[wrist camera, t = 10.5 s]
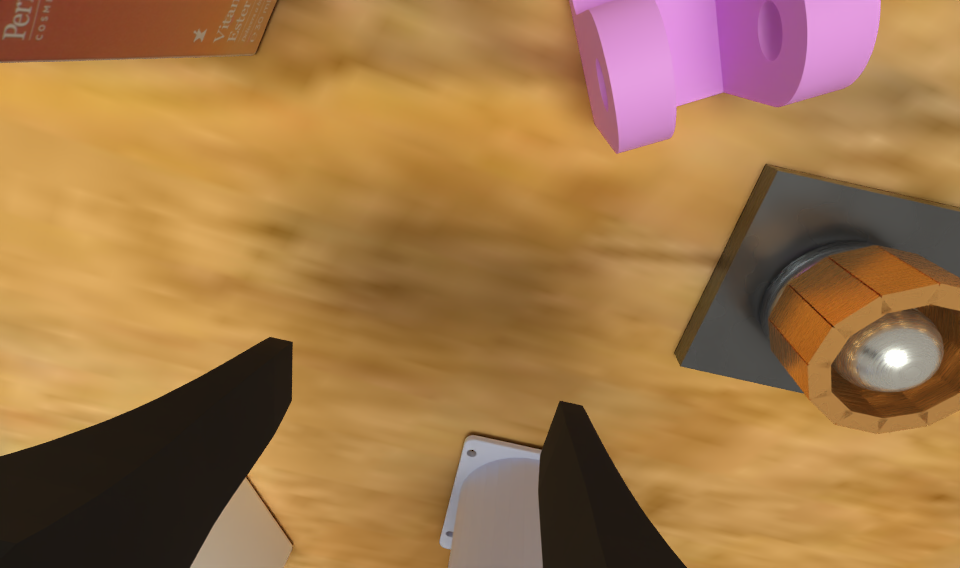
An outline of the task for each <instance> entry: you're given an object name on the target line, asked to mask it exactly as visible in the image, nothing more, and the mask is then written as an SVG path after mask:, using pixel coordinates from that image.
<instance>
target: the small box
mask: <svg viewBox="0 0 960 568" xmlns="http://www.w3.org/2000/svg"><path fill="white" fill-rule="evenodd" d="M276 1H277V0H0V63H14V62H55V61H86V60H119V59H157V58H184V57H195V58H196V57H222V56H251V55H254V54H255V52H256V51H257V48H258V45H259V43H260V40H261V38H262V36H263V33H264V31H265V28H266V25H267V23H268V20H269V18H270V15H271V13H272V10H273V8H274V6H275V4H276Z"/></svg>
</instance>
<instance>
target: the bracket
mask: <svg viewBox="0 0 960 568" xmlns="http://www.w3.org/2000/svg"><path fill="white" fill-rule="evenodd" d="M569 3H570V7H571V12H572V17H573V22H574V27H575V32H576V36H577V41H578V46H579V51H580V56H581V61H582V66H583V70H584V75H585V80H586V85H587V90H588V95H589V99H590V104H591V109H592V114H593V119H594V124H595V125H596V127H597V128H598V130H599V131H600V132H601V134H602V135H603V136H604V138H605V139H606V140H607V142H608V143H609V145H610V146H611V147H612V149H613V150H614V151H615V153H621V152H624V151H628V150H631V149H635V148H638V147H642V146H645V145H649V144H652V143H656V142H659V141H663V140H666V139H669V138H671V137H672V135H673V133H674V129H675V123H676V106H680V105H683V104H686V103H690V102H693V101H696V100H700V99H703V98H706V97H710V96H713V95H716V94H720V93H723V92H724V93H728V94H731V95H735V96H739V97H742V98H746V99H749V100H753V101H756V102H760V103H763V104H767V105H770V106H774V107H781V106H784V105H788V104H791V103H795V102H798V101H802V100H805V99H809V98H812V97H816V96H819V95H823V94H826V93H829V92H833V91H836V90H840V89H843V88H845V87H847V86H849V85H850V84H852V83H853V82H854V81H855V80H856V79H857V78H858V77H859V76H860V74H861V73H862V72H863V70H864V68H865V67H866V65H867V63H868V61H869V59H870V56H871V54H872V51H873V48H874V45H875V41H876V37H877V33H878V27H879V19H880V4H881V0H569Z"/></svg>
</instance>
